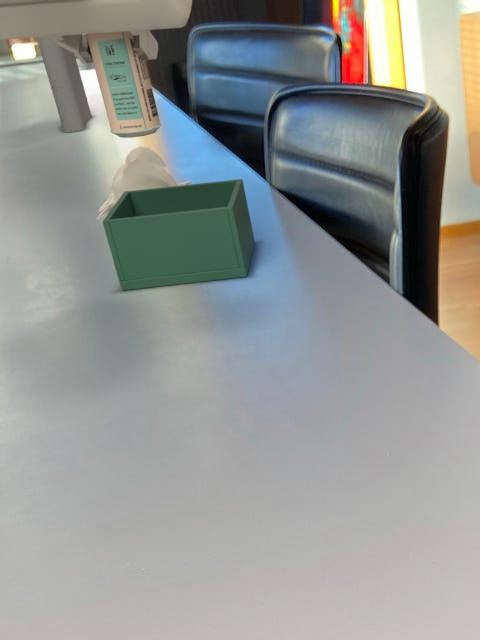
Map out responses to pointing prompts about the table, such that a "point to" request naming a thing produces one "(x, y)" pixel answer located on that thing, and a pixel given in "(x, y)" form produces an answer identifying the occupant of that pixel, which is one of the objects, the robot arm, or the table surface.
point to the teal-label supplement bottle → (124, 84)
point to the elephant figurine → (139, 176)
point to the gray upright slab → (65, 85)
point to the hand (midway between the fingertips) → (121, 55)
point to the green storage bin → (180, 234)
